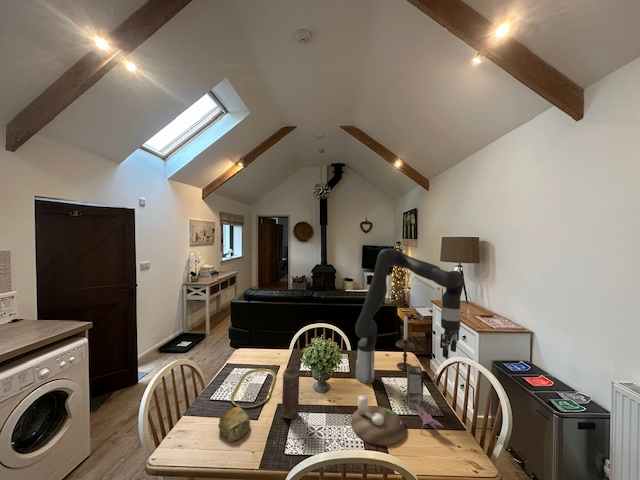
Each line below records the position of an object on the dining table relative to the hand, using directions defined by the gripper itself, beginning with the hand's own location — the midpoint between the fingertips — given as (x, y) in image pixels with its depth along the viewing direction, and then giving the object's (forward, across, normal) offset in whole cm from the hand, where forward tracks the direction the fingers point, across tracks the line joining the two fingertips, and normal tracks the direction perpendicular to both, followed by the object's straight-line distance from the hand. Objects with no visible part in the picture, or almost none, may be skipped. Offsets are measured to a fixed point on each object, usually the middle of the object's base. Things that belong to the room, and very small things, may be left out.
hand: (449, 354), depth 121 cm
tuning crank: (+27, +26, -22) cm, 44 cm away
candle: (+29, +49, -48) cm, 75 cm away
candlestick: (+29, -28, -36) cm, 55 cm away
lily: (+29, +13, -3) cm, 32 cm away
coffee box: (+29, 0, -15) cm, 33 cm away
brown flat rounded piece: (+29, +26, -18) cm, 43 cm away
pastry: (+30, +71, -58) cm, 96 cm away
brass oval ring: (+30, +49, -78) cm, 97 cm away
